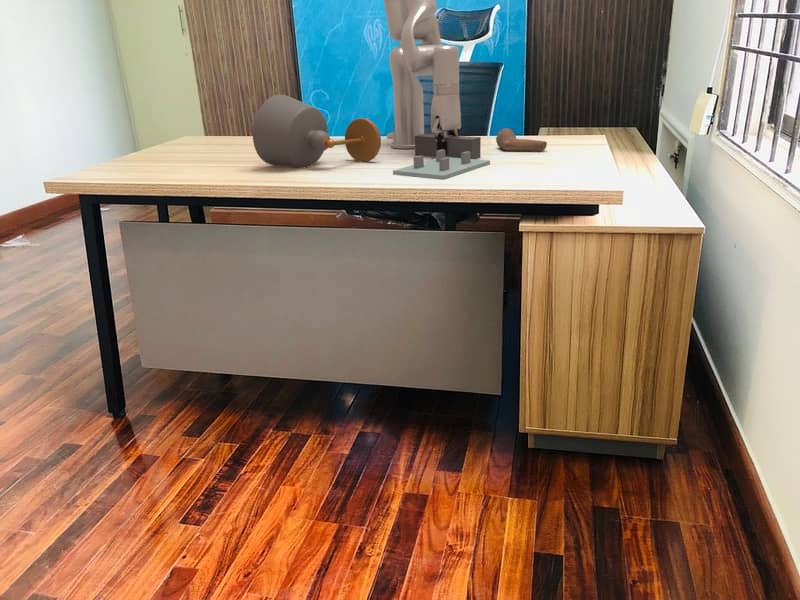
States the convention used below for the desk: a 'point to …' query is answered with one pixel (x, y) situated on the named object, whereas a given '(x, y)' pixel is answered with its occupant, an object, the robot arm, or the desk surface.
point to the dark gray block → (455, 146)
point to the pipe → (518, 142)
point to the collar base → (441, 166)
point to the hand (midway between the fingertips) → (447, 153)
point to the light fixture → (306, 134)
